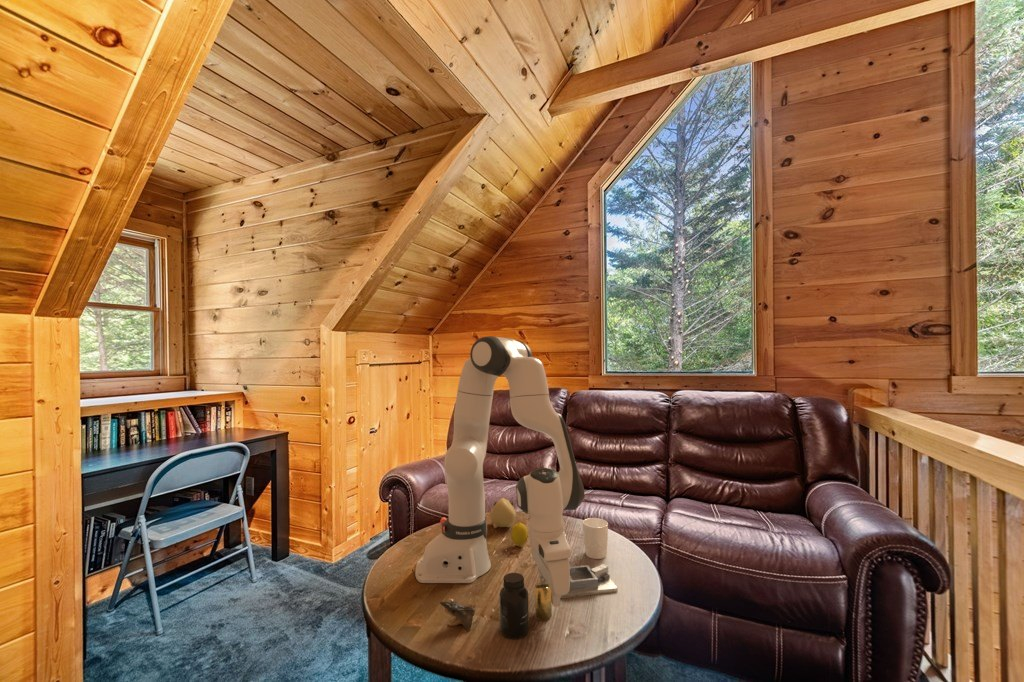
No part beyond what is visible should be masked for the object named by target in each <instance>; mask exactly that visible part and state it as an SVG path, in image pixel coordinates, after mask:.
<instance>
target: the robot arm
mask: <svg viewBox="0 0 1024 682" xmlns="http://www.w3.org/2000/svg"><path fill="white" fill-rule="evenodd" d="M469 352H470V355H469V358H467V359H466V360H465V362H464V363H463V366H462V369H461V374H460V376H459V381H458V384H457V385H458V386H457V390H456V391H457V392H456V399H455V405H454V411H453V435H452V436H453V437H452V442H451V445H450V447H448V449H447V451H445V455H444V470H445V479H446V486H447V495H448V501H447V502H448V518H446V517H444V516H443V517H441V518H440V525H441V532H440V534H438V535H437V536H436V537H434V538H433V539H432V540H431V541H429V542H428V544H427V545H426V547H425V549H424V552H423V556H422V557H421V558H420V559H419V560H418V561H416V562H417V563H416V565H415V571H414V575H415V578H416V581H417V582H419V583H420V584H471V583H473V582H475V581H476V580H477V578H479V577H481V576H483V575H485V574H486V573H487V572H488V571H489V570H490V569H491V567H492V563H491V559H490V557H489V552H488V547H487V545H488V544H487V537H488V536H487V535H488V522H487V518H486V500H485V499H486V492H485V483H484V470H483V468H484V461H485V458H486V454H487V449H488V437H489V428H490V418H491V412H492V406H493V397H494V392H495V384H496V381H497V379H498V378H499V377H501V376H503V377H504V378H505V379H506V380H507V382H508V388H509V403H510V405H509V406H510V408H511V409H510V411H511V415H512V417H513V419H514V420H515V421H516V422H517V423H518V424H519V425H521V426H523V427H525V428H526V429H529V430H533V431H535V432H539V433H542V434H545V435H547V436H548V437H549V438H550V439H551V440H552V442H553V445H554V448H555V452H556V455H557V460H558V464H559V467H560V468H559V471H556V470H554V469H552V468H548V467H541V468H540V467H539V468H536V469H535V468H534V469H533V470H532V471H530V473H529V474H527V475H524V476H522V477H521V478H520V479H518V481H517V483H516V484H515V492H516V506H517V507H518V509H520V510H521V511H522V512H524V513H525V514H526V515H529V523H528V533H529V534H528V536H529V546H530V547H531V549H530V550H531V556H532V559H533V561H534V562H535V565H536V567H537V569H538V574H539V582H547V584H548V586H549V588H550V589H551V591H552V596H551V605H552V606H553V607H554V608H555V607H559V606H561V599H562V598H561V595H566V594H568V592H569V589H570V567H571V566H570V560H569V559H570V558H571V556H572V550H571V547H570V545H569V543H568V539H567V538H566V537H567V535H566V531H565V529H566V528H565V521H564V519H563V511H575V510H577V509H578V508H579V506H581V505H582V503H583V502H584V500H585V495H586V494H585V493H586V492H585V488H584V484H583V481H582V478H581V475H580V471H579V469H578V466H577V463H576V459H575V455H574V451H573V447H572V442H571V440H570V435H569V432H568V428H567V426H566V422H565V420H564V417H563V415H562V414H561V413H559V412H557V411H556V410H555V409H554V407H553V405H552V403H551V400H550V399H551V398H550V390H549V385H548V378H547V374H546V370H545V367H544V364H543V362H542V361H541V360H540V359H538V358H537V357H534V356H533V353H532V350H531V348H530V347H529V345H527V344H526V343H524V342H523V341H521V340H517V339H513V338H510V337H501V336H493V335H489V336H488V335H487V336H482V337H480V338H478V339H476V340H475V341H474V343H473V344H472V346H471V349H470V351H469Z"/></svg>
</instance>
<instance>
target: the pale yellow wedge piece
mask: <svg viewBox="0 0 1024 682" xmlns="http://www.w3.org/2000/svg"><path fill="white" fill-rule="evenodd" d="M488 516H489V520H490V521H491V523H492V525H493V528H495V529H496V528H498V527H499V528H512V526H513V523H514V522H515V520H516V518H517V513H516V510H515V507H514V503H513V501H511V500H510V499H506V498H505V497H501V498H499V499H498V500H497V501H495V502H494V503H493V507H492V509H491V510H490V512H489V515H488Z"/></svg>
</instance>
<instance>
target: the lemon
mask: <svg viewBox="0 0 1024 682" xmlns="http://www.w3.org/2000/svg"><path fill="white" fill-rule="evenodd" d="M528 533H529V532H528V528H527V526H526V525H525V524H524V523H522V522H520V521H518V522H517V523H514V524H513V525H512V526H511V532H510V537H511V541H512V542H513V543H514V544H515V545H517V547H522V546H523V545H524V544H526V542H527V540H528V536H529V534H528Z"/></svg>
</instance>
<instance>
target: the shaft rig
mask: <svg viewBox="0 0 1024 682" xmlns="http://www.w3.org/2000/svg"><path fill="white" fill-rule="evenodd" d="M610 577H611V576H610V574H609V566H608V565H606V564H604V563H602V564H600V565H598V566H595V567H593V568H591V566H589V565H588V564H587V565H577V566H570V589H569V592H568V594H566V595H561V598H560V599H567V598H575V597H583V596H591V595H600V594H609V593H618V587H617V585H616V584H615V583H614V581H613V580H612V579H611V578H610ZM551 596H552V591H551Z"/></svg>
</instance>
